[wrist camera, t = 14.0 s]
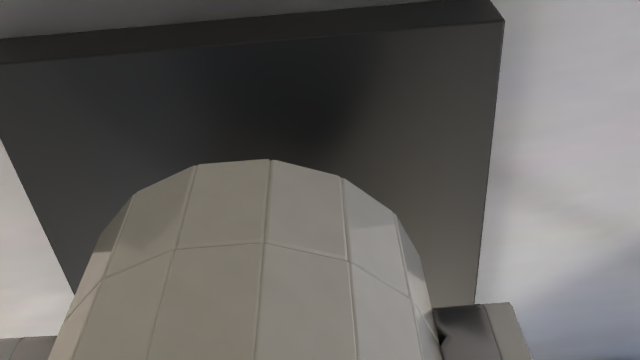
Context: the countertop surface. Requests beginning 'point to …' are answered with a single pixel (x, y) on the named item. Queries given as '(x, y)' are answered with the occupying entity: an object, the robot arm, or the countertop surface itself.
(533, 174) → the countertop surface
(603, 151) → the countertop surface
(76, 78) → the scale
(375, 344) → the small bowl
